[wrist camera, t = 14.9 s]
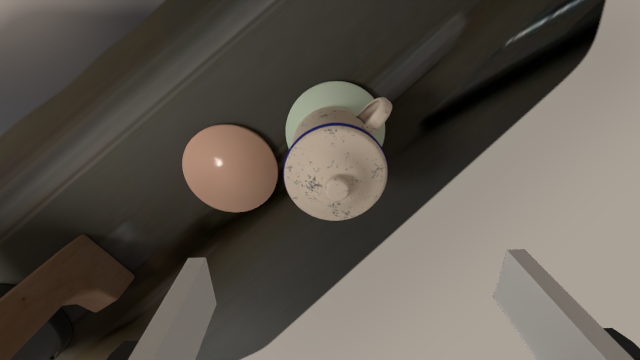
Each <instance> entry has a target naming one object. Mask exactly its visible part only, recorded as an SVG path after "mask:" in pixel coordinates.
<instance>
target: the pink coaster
mask: <svg viewBox="0 0 640 360" xmlns="http://www.w3.org/2000/svg"><path fill="white" fill-rule="evenodd" d="M182 168H183V173H184V177H185V179H186V182H187V184H188V185H189V187H190V189H191V190H192V191H193V192H194V194H195V195H196V196H197V197H198V198H199V199H201V200H202V201H203V202H205V203H206V204H208V205H210V206H212V207H214V208H216V209H219V210H223V211H227V212H244V211H249V210H252V209H254V208H256V207H258V206H260V205H261V204H263V203H264V202H265V201H266V200H267V199H268V198H269V197H270V196H271V194H272V193H273V191H274V188H275V186H276V182H277V179H278V164H277V160H276V157H275V155H274V153H273V151H272V149H271V147H270V146H269V145H268V143H267V142H266V141H265V140H264V139H263V138H262V137H261V136H259V135H258V134H257V133H255V132H254V131H252V130H250V129H248V128H245V127H243V126H239V125H235V124H217V125H213V126H210V127H207V128H205V129H204V130H202V131H200V132H199V133H198V134H197V135H195V136H194V137H193V138H192V139H191V140H190V142H189V143H188V145H187V146H186V149H185V151H184V154H183V160H182Z"/></svg>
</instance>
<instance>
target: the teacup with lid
mask: <svg viewBox="0 0 640 360" xmlns="http://www.w3.org/2000/svg"><path fill="white" fill-rule="evenodd" d="M391 111H392V104H391V102H390V101H389V100H388V99H386V98H384V97H379V98H377V99H375V100H373V101H371V102H370V103H369V104H368V105H367V106H365V107H364V108H363V110H362V111H361V112H360V113H359V114H358V115H356V114H355V113H354V112H352V111H350V110H348V109H345V108H342V107H335V106H330V107H323V108H320V109H317V110H315V111H313V112H311V113H310V114H308V115H307V116H306V117H305V118H304V119H303V120H302V121H301V122H300V124H299V125H298V127H297V129H296V131H295V134H294V138H293V142H292V145H291V147H290V149H289V151H288V153H287V155H286V158H285V161H284V166H283V178H284V184H285V187H286V189H287V192H288V194H289V195H290V197H291V199H292V200H293V201H294V203H295V204H296V205H297V206H298V207H299V208H300V209H302V210H303V211H304V212H306V213H308V214H309V215H311V216H314V217H316V218H319V219H324V220H330V221H339V220H346V219H350V218H353V217H356V216H358V215H360V214H362V213H364V212H365V211H367V210H368V209H369V208H371V207H372V206H373V205H374V204H375V203H376V202H377V200H378V199H379V198H380V196H381V194H382V192H383V190H384V188H385V185H386V182H387V177H388V163H387V158H386V155H385V153H384V150H383V149H382V147H381V145H380V144H379V142H378V141H377V140H376V139H375V138H374V137H373V135H374V134H375V133H376V132H377V131H378V130H379V129H380V128H381V127H382V125H383V124H384V123H385V122H386V120H387V119H388V117H389V115H390V113H391Z"/></svg>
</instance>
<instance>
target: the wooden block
mask: <svg viewBox="0 0 640 360" xmlns="http://www.w3.org/2000/svg"><path fill="white" fill-rule="evenodd" d="M134 278H135V276H134V274H133V273H131V272H130V271H129V270H128V269H126V268H125V267H124V266H123V265H122V264H120V263H119V262H118V261H117V260H115V259H114V258H113V257H112V256H111V255H109V254H108V253H107V252H106V251H105V250H103V249H102V248H101V247H100V246H98V245H97V244H96V243H95V242H94V241H92V240H91V239H90V238H89V237H88V236H86V235H84V234H83V235H80V236H79V237H77V238H76V239H74V240H73V241H72V242H70V243H69V244H67V245H66V246H65V247H63V248H62V249H61V250H60V251H58V252H57V253H56V254H55V255H53V256H52V257H51V258H50V259H48V260H47V261H46V262H45V263H44V264H42V265H41V266H40V267H39V268H37V269H36V270H35V271H34V272H32V273H31V274H30V275H29V276H28V277H26V278H25V279H24V280H23V281H21V282H20V283H19V284H18V285H16V286H15V287H14V288H13V289H12V290H10V291H9V292H8V293H7V294H5V295H4V296H3V297H2V298H0V360H10V359H11V358H12V357H13V356H14V355H15V354H16V353H17V352H18V351H19V350H20V349H21V348H22V347H23V345H24V344H25V343H26V342H27V341H28V340H29V339H30V338H31V337H32V336H33V335H34V334H35V333H36V332H37V331H38V330H39V329H40V328H41V327H42V326H43V325H44V324H45V323H46V322H47V321H48V320H49V319H50V318H51V317H52V315H53V314H54V313H55V312H56V311H57V310H58V309H59V308H60V307H61V306H64V305H73V304H77V305H79V306H82V307H84V308H86V309H88V310H90V311H92V312H98V311H100V310H102V309H103V308H105V307H106V306H108V305H110V304H111V303H113V302H115V301H116V300H118V299H119V297H120V296H121V295H122V294H123V292H124V291H125V290H126V288H127V287H128V286H129V284H130V283H131V282H132V281H133V279H134Z"/></svg>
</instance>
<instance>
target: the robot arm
mask: <svg viewBox="0 0 640 360" xmlns="http://www.w3.org/2000/svg"><path fill="white" fill-rule="evenodd" d="M14 287H15V286H11V285H1V284H0V298H2V297H3V296H4V295H5V294H7V293H8V292H9V291H10V290H12V289H13V288H14ZM493 298H494V299H495V300H496V302H497V303H498V305H499V306H500V308H501V309H502V311H503V312H504V313H505V315H506V316H507V318H508V319H509V321H510V322H511V324H512V325H513V327H514V328H515V329H516V331H517V332H518V334H519V335H520V337H521V338H522V340H523V341H524V342H525V344H526V345H527V347H528V348H529V350H530V351H531V353H532V354H533V356H534V357H535V359H536V360H640V348H639V347H637V346H636V345H635V344H634V343H633V342H632V341H631V340H629V339H628V338H626V337H625V336H623V335H622V334H620V333H619V332H617V331H616V330H614V329H613V328H602V327H601V326H600V325H599V324H598V323H597V322H596V321H595V320H594V319H593V318H592V317H591V316H590V315H589V314H588V313H587V312H586V311H585V310H584V309H583V308H582V307H581V306H580V305H579V304H578V303H577V302H576V301H575V300H574V299H573V298H572V297H571V296H570V295H569V294H568V293H567V292H566V291H565V290H564V289H563V288H562V287H561V286H560V285H559V284H558V283H557V282H556V281H555V280H554V279H553V278H552V277H551V276H550V275H549V274H548V273H547V272H546V271H545V270H544V269H543V268H542V267H541V266H540V265H539V264H538V262H537V261H536V260H535V259H534V258H533V257H532V256H531V255H530V254H528V252H527V251H525V250H524V249H523V250H507V251H506V255H505V258H504V261H503V265H502V268H501V272H500V276H499V278H498V282H497V285H496V289H495V292H494V295H493ZM216 304H217V303H216V299H215V295H214V290H213V286H212V282H211V278H210V273H209V269H208V265H207V260H206V258H188V259H187V261H186V263H185V264H184V266H183V268H182V270H181V271H180V273H179V275H178V276H177V278H176V280H175V281H174V283H173V285H172V286H171V288H170V290H169V291H168V293H167V295H166V296H165V298H164V300H163V302H162V303H161V305H160V307H159V308H158V310H157V312H156V313H155V315H154V317H153V318H152V320H151V322H150V323H149V325H148V327H147V328H146V330H145V332H144V334H143V335H142V337H141V339H140V340H139V341H124V342H123V343H122V344H121V345H120V346H119V347H118V348H117V349H116V350H114V351H113V352H112V353H111V354H110V355H109V357H108V358H107V360H195V359H196V356H197V354H198V351H199V349H200V346H201V343H202V341H203V338H204V335H205V333H206V330H207V328H208V325H209V322H210V320H211V317H212V315H213V312H214V309H215V307H216ZM71 338H72V326H71V324H70V321H69V320H68V318H67V316H66V315H65V314H64V313H63V312H62V310H61V309H60V308H59V309H58V310H57V311H56V312H55V313H54V314H53V315H52V317H51V318H50V319H49V320H48V321H47V322H46V323H45V324H44V325H43V326H42V327H41V328H40V329H39V330H38V331H37V332H36V333H35V334H34V335H33V336H32V337H31V338H30V339H29V340H28V341H27V342H26V343H25V344H24V345H23V347H22V348H21V349H20V350H19V351H18V352H17V353H16V354H15V355H14V356H13V357H12V358H11V359H10V360H54V359H55V358H57V357H58V356H59V355H60V353H61V352H62V351H63V350H64V349H65V347H66V346H67V345H68V344H69V342H70V341H71Z"/></svg>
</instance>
